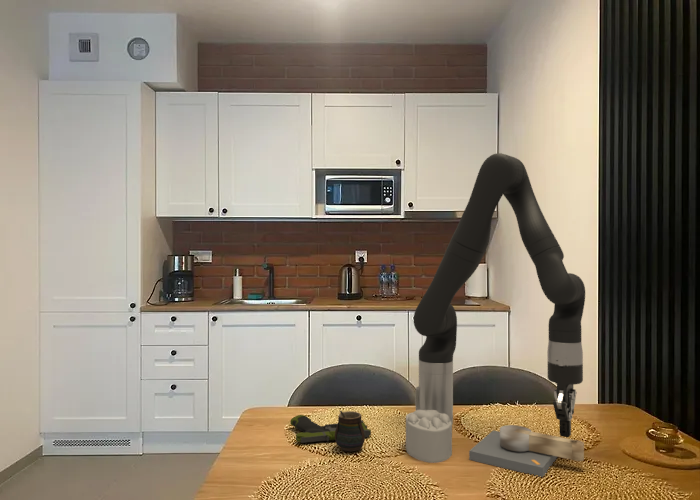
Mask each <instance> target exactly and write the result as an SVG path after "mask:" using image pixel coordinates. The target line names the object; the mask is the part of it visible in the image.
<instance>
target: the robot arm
mask: <svg viewBox="0 0 700 500" xmlns="http://www.w3.org/2000/svg"><path fill="white" fill-rule="evenodd" d="M525 166H526V165H525V164H524V163H523V162H522V161H521V160H520V159H519V158H517V157H514V156H512V155H508V154H504V153H502V152H497V153H493V154H491V155H489V156H488V157H487V158H486V159H485V160H484V161H483V163H482V164H481V165H480V169H478V170H479V171H478V173H477V176H476V179H475V182H474V185H473V188H472V191H471V193H470V197H469V199H468V202H467V204H466V206H465V209H464V211H463V212H462V215H461V217H460V220H459V221H458V224H457V227H456V229H455V230H454V233H453V234H452V237H451V238H450V241H449V243H448V245H447V247H446V249H445V252H444V255H443V257H442V259H441V262H440V263H439V265H438V267H437V270H436V272H435V274H434V276H433V278H432V280H431V283H430V285H429V286H428V288H427V289H426V292H425V293H424V294H423V296H422V298H421V300H420V301H419V303H418V305H417V307H415V311H414V313H413V325H414V328H415V330H416V332H417V333H418V334H419V335H421V336H423V337H426V339H425V340H424V343H423V345H422V346H421V347H420V348H419V351H418V386H416V387H415V411H416V410H436V411H438V412H439V413H442V414H447V415H448V416H449V418H450V421H451V423H452V425H454V414H453V413H454V412H453V410H454V408H453V407H454V353H455V351H456V348H457V347H456V346H457V337H458V336H457V334H458V333H457V331H458V319H457V318H458V317H457V313H456V310H455V307H454V306H453V305H452V301H453V299H454V297H455V296H456V294H457V293H458V291H459V290H460V289H461V288H462V287H463V285H464V284H466V282H467V281H468V280H470V278H471V277H472V275H473V274H474V273H475V272H476V270H477V269H478V268H479V265H480V263H481V262H482V260H483V259H484V255H485V253H486V251H487V249H488V246H489V244H490V243H489V242H490V238H491V230H492V228H491V227H492V222H493V221H492V220H493V216H494V213H495V211H496V208H497V207H498V205H499V202H500V200H501V198H502V197H503V196H504V198H505V199H506V200H507V202H508V204H509V205H510V206H511V208H512V211H513V212H514V215H515V217H516V221H517V227H518V231H519V235H520V238H521V241H522V243H523V245H524V248H525V250H526V251H527V253H528V256H529V257H530V260H531V261H532V263H533V264H534V267H535V271H536V275H537V277H538V282H539V285H540V288H541V291H542V292H543V295H545V298H546V299H548V300H549V302H551V303H552V304H553V305H554V306H553V307H554V308H553V312H552V313H553V314H552V315H550V318H549V320H548V344H547V380H548V381H550V382H551V383H555V384H556V389H554V392H553V394H554V395H553V396H554V400H553V402H552V406H553V410H554V412H555V418H556V420H559V421H558V422H559V423H558V424H559V425H558V426H559V435H560V436H559V437H562V438H570V437H571V435H572V419H573V415H574V414H575V405H576V399H577V398H576V396H577V391H576V390H577V389H574V386H575V385H580V384H582V383H583V381H584V362H583V361H584V359H583V358H584V352H583V344H582V319H583V314H584V308H585V303H586V287H585V283H584V281H583V280H582V278H581V277H580V276H578V275H577V274H575V273H570V272H568V271H567V269H566V266H565V264H564V261H563V260H564V257H565V255H564V251H563V249H562V248H561V247H562V246H561V245H560V244H559V242H558V240H557V238H556V237H555V234H554V233H553V231H552V229H551V227H550V226H549V223H548V222H547V220H546V218H545V215H544V214H543V211H542V209H541V207H540V205H539V203H538V200H537V198H536V195H535V192H534V190H533V188H532V187H533V186H532V182H531V179H530V177H529V175H528V172H527V168H526V167H525Z"/></svg>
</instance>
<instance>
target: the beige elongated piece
mask: <svg viewBox="0 0 700 500" xmlns="http://www.w3.org/2000/svg"><path fill="white" fill-rule="evenodd" d="M499 432H500V446H501V447H503V448H505V449H507V450H511V451H519V452H523V451H534V452H539V453H543V454H548V455H553V456H557V458H562V459H567V460H571V461H574V462H584V460H585V443H584V441H582V440H578V439H572V438H568V437H562V436H556V435H551V434H546V433H540V432H535V431H532V429H530V428H528V427H526V426H521V425H515V424H507V425H502V426H500V427H499Z"/></svg>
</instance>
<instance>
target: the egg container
mask: <svg viewBox="0 0 700 500" xmlns="http://www.w3.org/2000/svg"><path fill="white" fill-rule="evenodd" d="M452 449H453V424H452V423H451V421H450V418H449V416H448V415H447V414H442V413H439V412H438V411H436V410H416V409H415V410H414V411H413V412H410V413H407V414H406V415H405V450H406V453H407V454H408V455H409V456H410V457H412V458H414V459H416V460H418V461H421V462H425V463H428V464H429V463H432V464H433V463H434V464H436V463H442V462H444V461H448V460H449V458H451V457H452V456H453V450H452Z"/></svg>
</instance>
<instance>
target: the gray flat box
mask: <svg viewBox="0 0 700 500" xmlns="http://www.w3.org/2000/svg"><path fill="white" fill-rule="evenodd" d="M556 459H558V457H557V456H553V455H548V454H543V453H539V452H534V451H523V452H519V451H511V450H507V449H505V448H503V447H501V446H500V430H499V431H498V430H492V431H491V432H489V433H488V434H487V435H485V437H483V438H482V439H481V440H480V441H479V442H477V444H475V445H474V446H473V447H472V448H471V449H470V450H469V451H468V460H469V461H473V462H476V463H477V462H478V463H481V464H486V465H489V466H495V467H496V468H497V467H498V468H503V469H506V470H510V471H513V472H518V473H523V472H524V473H523V474H527V473H529V474H528V475H531V474H534V475H533V476H535V475H538V476H537V477H539V476H541V477H540V478H544V477H545V475H546V474H547V473H548V471H549V470H550V468H551V467H552V466H553V464H554V463H555V461H556ZM553 462H554V463H553ZM550 466H551V467H550ZM549 467H550V468H549ZM548 469H549V470H548ZM547 470H548V471H547ZM545 473H546V474H545ZM543 476H544V477H543Z"/></svg>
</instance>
